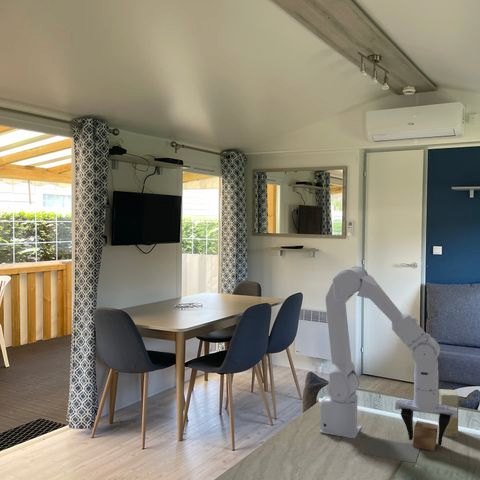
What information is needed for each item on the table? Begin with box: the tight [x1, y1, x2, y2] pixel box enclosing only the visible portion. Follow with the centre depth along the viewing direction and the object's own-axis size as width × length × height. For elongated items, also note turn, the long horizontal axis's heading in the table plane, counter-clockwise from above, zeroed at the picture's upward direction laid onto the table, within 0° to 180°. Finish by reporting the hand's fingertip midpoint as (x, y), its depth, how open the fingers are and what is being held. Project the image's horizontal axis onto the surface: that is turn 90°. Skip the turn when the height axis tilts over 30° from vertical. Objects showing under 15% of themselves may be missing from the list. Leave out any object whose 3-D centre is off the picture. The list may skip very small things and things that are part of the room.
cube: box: [412, 420, 438, 452], centre depth 136 cm, size 5×5×5 cm
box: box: [437, 388, 459, 438], centre depth 144 cm, size 5×4×11 cm
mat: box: [363, 437, 421, 464], centre depth 133 cm, size 12×10×1 cm
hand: (425, 441), depth 136 cm, fingers open, 6 cm apart
